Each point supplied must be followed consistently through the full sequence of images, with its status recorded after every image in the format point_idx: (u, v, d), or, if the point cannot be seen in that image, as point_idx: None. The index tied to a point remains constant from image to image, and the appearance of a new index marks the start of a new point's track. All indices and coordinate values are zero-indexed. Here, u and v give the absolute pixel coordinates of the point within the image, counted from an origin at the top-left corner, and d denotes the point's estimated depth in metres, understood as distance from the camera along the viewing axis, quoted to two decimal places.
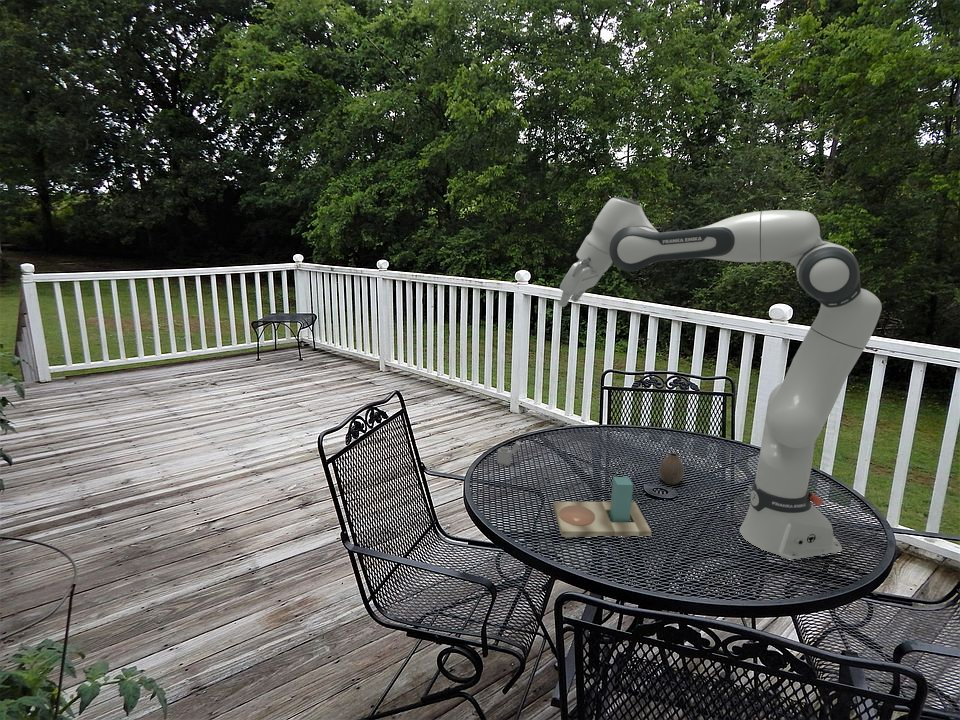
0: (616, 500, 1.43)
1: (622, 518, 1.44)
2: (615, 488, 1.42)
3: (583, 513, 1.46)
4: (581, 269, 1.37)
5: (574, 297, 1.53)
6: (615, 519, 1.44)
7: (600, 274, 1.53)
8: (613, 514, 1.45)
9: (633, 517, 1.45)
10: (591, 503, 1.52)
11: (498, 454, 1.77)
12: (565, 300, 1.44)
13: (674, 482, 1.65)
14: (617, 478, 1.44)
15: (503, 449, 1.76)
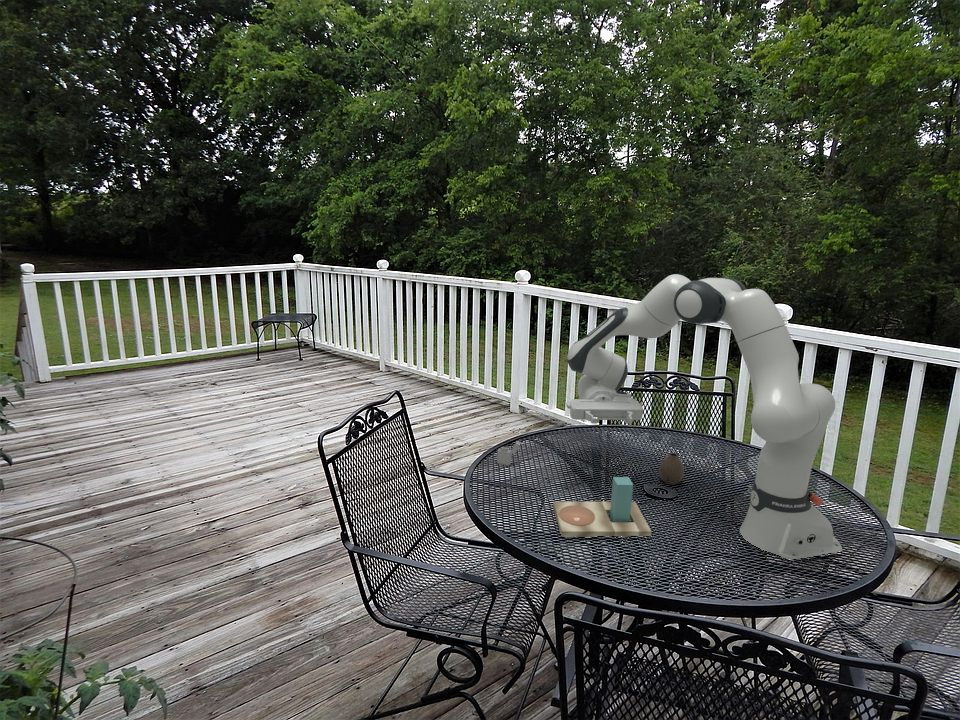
0: (616, 500, 1.43)
1: (622, 518, 1.44)
2: (615, 488, 1.42)
3: (583, 513, 1.46)
4: None
5: (625, 420, 1.55)
6: (615, 519, 1.44)
7: (632, 402, 1.62)
8: (613, 514, 1.44)
9: (633, 517, 1.45)
10: (591, 503, 1.52)
11: (498, 454, 1.77)
12: (590, 416, 1.55)
13: (674, 482, 1.65)
14: (617, 478, 1.44)
15: (503, 449, 1.76)
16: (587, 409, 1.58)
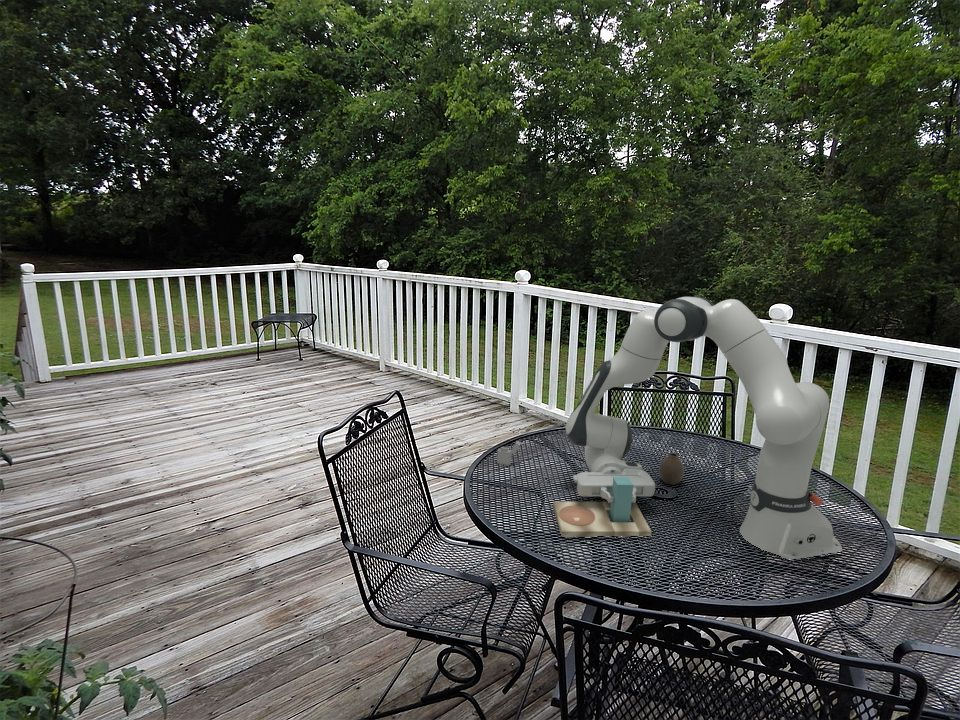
0: (616, 500, 1.43)
1: (622, 518, 1.44)
2: (615, 488, 1.42)
3: (583, 513, 1.46)
4: None
5: None
6: (615, 519, 1.44)
7: (643, 476, 1.52)
8: (613, 514, 1.44)
9: (633, 517, 1.45)
10: (591, 503, 1.52)
11: (498, 454, 1.77)
12: (606, 494, 1.45)
13: (674, 482, 1.65)
14: (617, 478, 1.44)
15: (503, 449, 1.76)
16: (595, 485, 1.48)
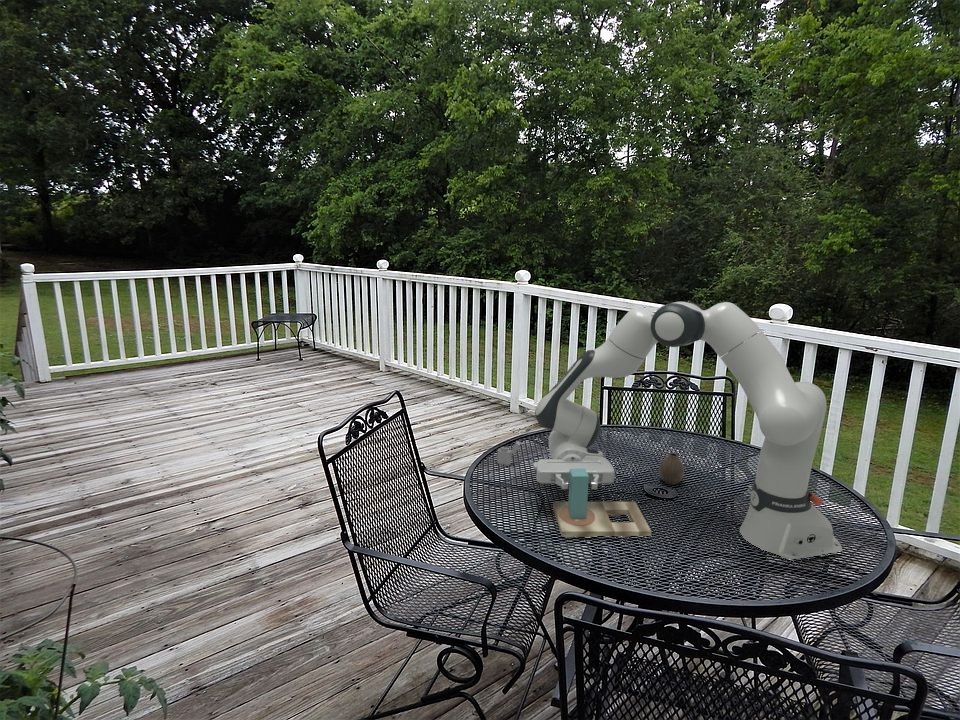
0: (572, 492, 1.41)
1: (580, 509, 1.43)
2: (571, 479, 1.41)
3: None
4: None
5: (591, 485, 1.43)
6: (572, 511, 1.43)
7: (603, 463, 1.51)
8: (570, 506, 1.44)
9: (633, 517, 1.45)
10: (591, 503, 1.52)
11: (498, 454, 1.77)
12: (560, 481, 1.44)
13: (674, 482, 1.65)
14: (573, 470, 1.43)
15: (503, 449, 1.76)
16: (554, 472, 1.46)
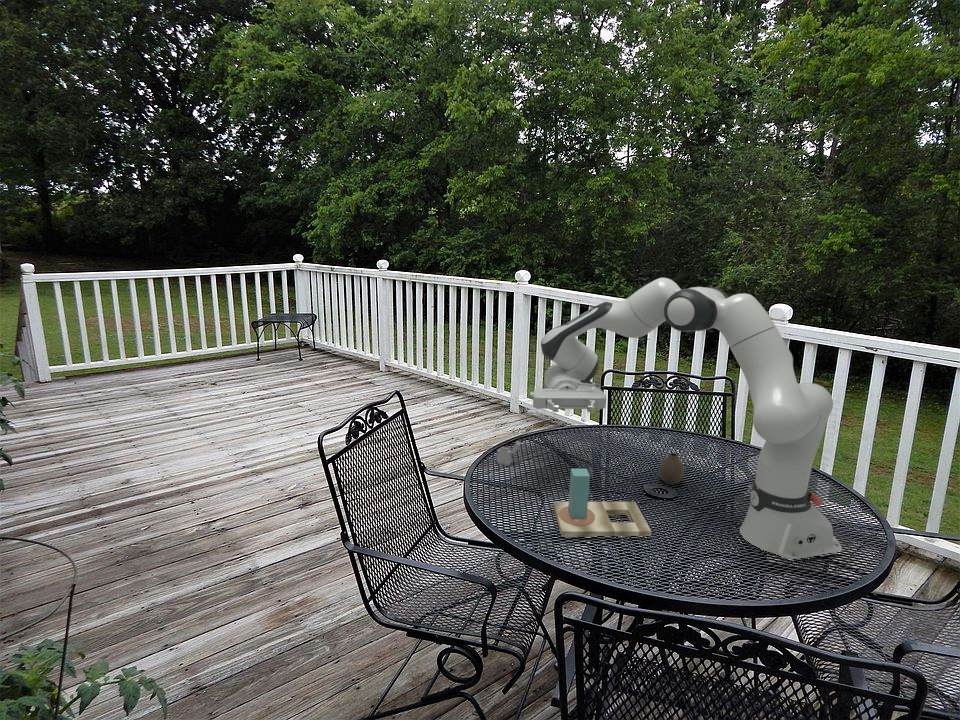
0: (573, 492, 1.42)
1: (580, 509, 1.43)
2: (572, 479, 1.42)
3: None
4: None
5: (587, 408, 1.53)
6: (572, 511, 1.43)
7: (596, 391, 1.60)
8: (571, 506, 1.44)
9: (633, 517, 1.45)
10: (591, 503, 1.52)
11: (498, 454, 1.77)
12: (551, 405, 1.53)
13: (674, 482, 1.65)
14: (575, 470, 1.43)
15: (503, 449, 1.76)
16: (549, 398, 1.55)
